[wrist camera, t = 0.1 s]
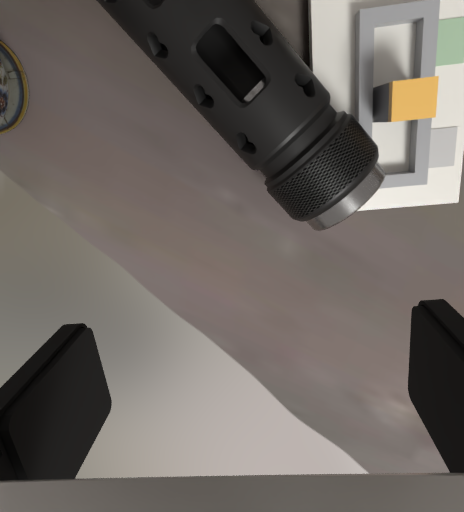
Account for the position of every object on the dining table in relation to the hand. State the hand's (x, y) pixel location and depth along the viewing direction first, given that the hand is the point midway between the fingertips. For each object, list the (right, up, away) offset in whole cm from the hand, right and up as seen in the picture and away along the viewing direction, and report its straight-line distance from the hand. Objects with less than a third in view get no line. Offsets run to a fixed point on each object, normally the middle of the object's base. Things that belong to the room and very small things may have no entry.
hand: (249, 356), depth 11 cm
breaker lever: (+14, +17, +24) cm, 32 cm away
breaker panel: (+14, +18, +26) cm, 34 cm away
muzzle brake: (+1, +20, +26) cm, 32 cm away
